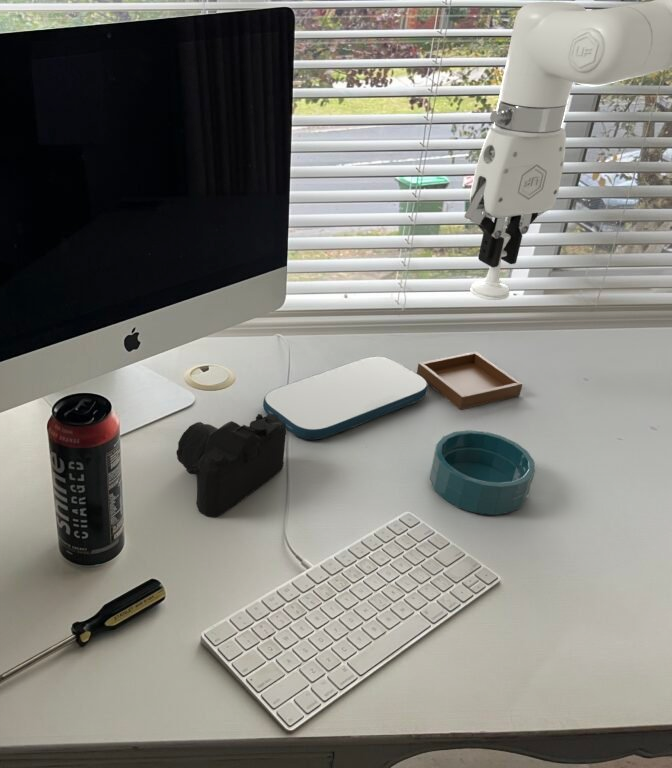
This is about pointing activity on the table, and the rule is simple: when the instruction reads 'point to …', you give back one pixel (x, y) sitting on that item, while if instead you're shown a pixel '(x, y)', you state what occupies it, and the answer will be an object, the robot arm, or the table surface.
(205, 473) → the film camera
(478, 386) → the tray
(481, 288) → the chess piece
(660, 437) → the table surface
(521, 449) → the dish
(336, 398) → the external hard drive
